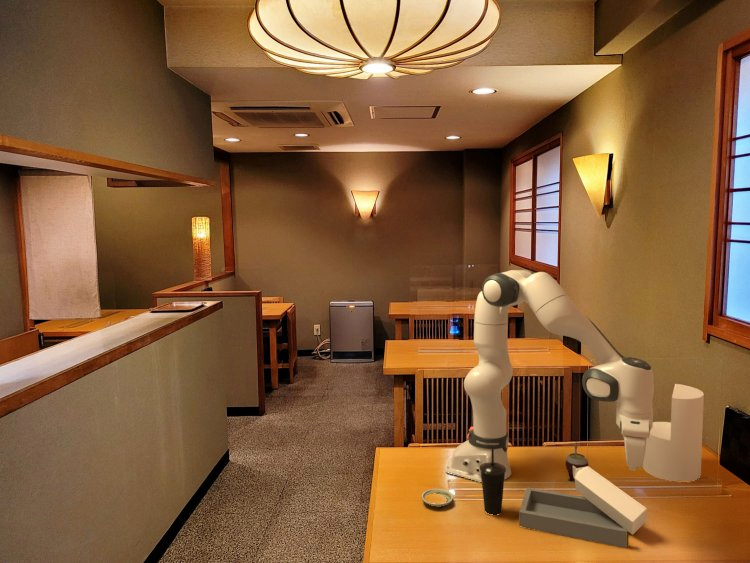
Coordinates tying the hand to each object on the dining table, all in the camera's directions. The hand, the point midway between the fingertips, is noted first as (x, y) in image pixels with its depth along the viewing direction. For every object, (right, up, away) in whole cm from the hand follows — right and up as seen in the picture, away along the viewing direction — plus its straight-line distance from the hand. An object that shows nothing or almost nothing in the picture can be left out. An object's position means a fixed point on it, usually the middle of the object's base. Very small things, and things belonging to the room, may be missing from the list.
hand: (632, 468), depth 144 cm
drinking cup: (-34, -19, +15) cm, 42 cm away
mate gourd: (-3, -16, +33) cm, 36 cm away
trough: (-13, -18, +8) cm, 24 cm away
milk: (+2, -14, -1) cm, 15 cm away
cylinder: (+31, -14, +37) cm, 51 cm away
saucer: (-50, -19, +21) cm, 58 cm away
